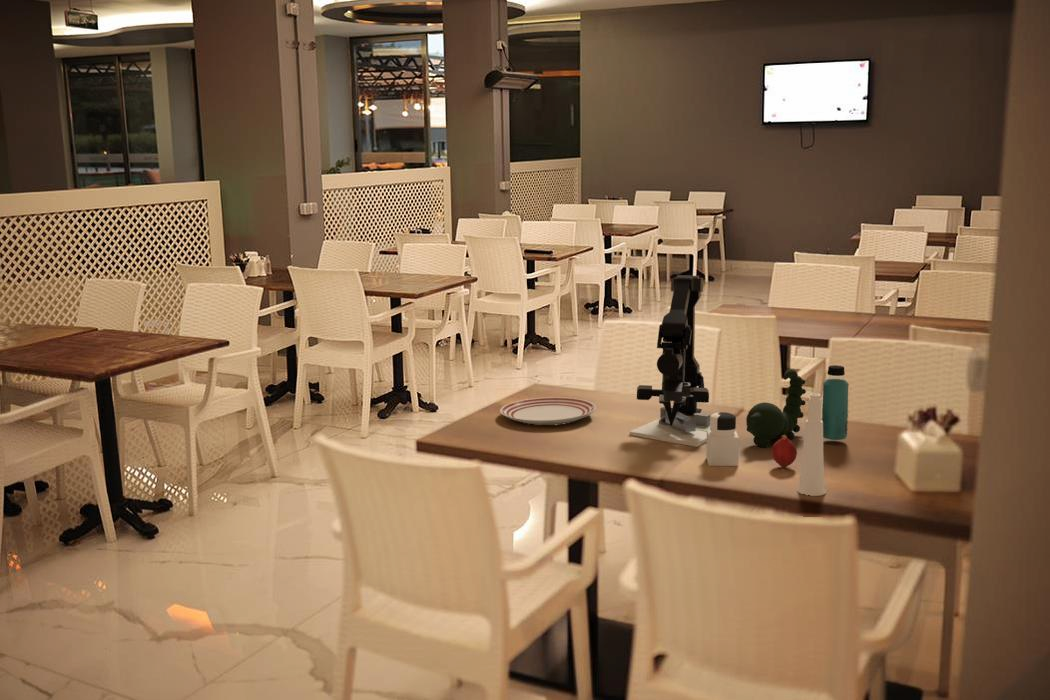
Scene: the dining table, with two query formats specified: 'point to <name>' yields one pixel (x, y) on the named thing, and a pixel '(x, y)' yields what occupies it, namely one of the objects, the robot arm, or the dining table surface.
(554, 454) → the dining table surface
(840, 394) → the beverage bottle
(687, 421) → the bar
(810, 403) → the cosmetic bottle
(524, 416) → the dinner plate
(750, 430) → the toy figurine
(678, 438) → the door board
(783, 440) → the onion
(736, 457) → the medicine bottle
